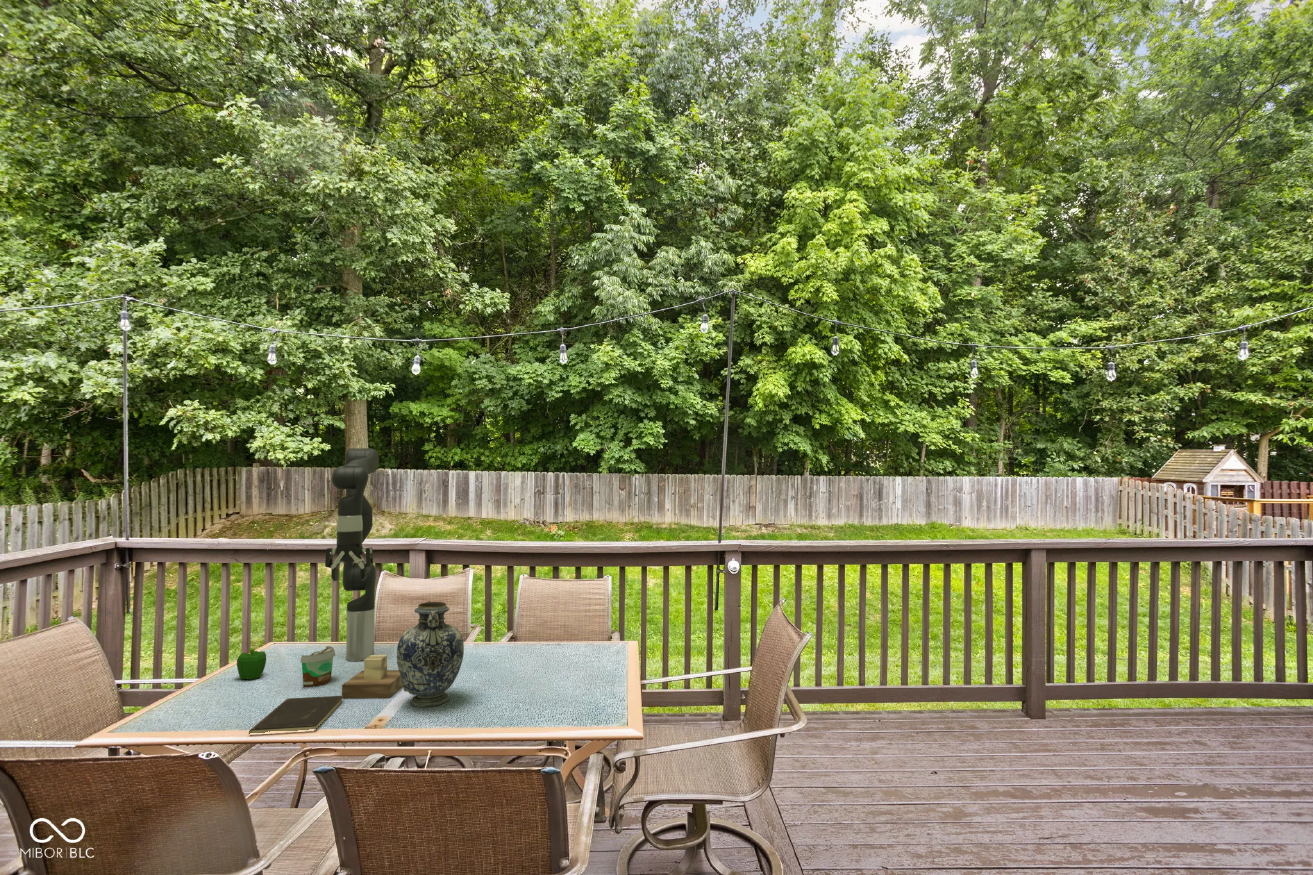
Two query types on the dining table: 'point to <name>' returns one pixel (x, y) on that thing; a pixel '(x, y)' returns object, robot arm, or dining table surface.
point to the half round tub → (317, 667)
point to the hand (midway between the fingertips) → (349, 580)
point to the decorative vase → (430, 656)
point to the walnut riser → (372, 686)
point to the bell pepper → (251, 664)
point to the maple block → (375, 667)
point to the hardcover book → (298, 714)
